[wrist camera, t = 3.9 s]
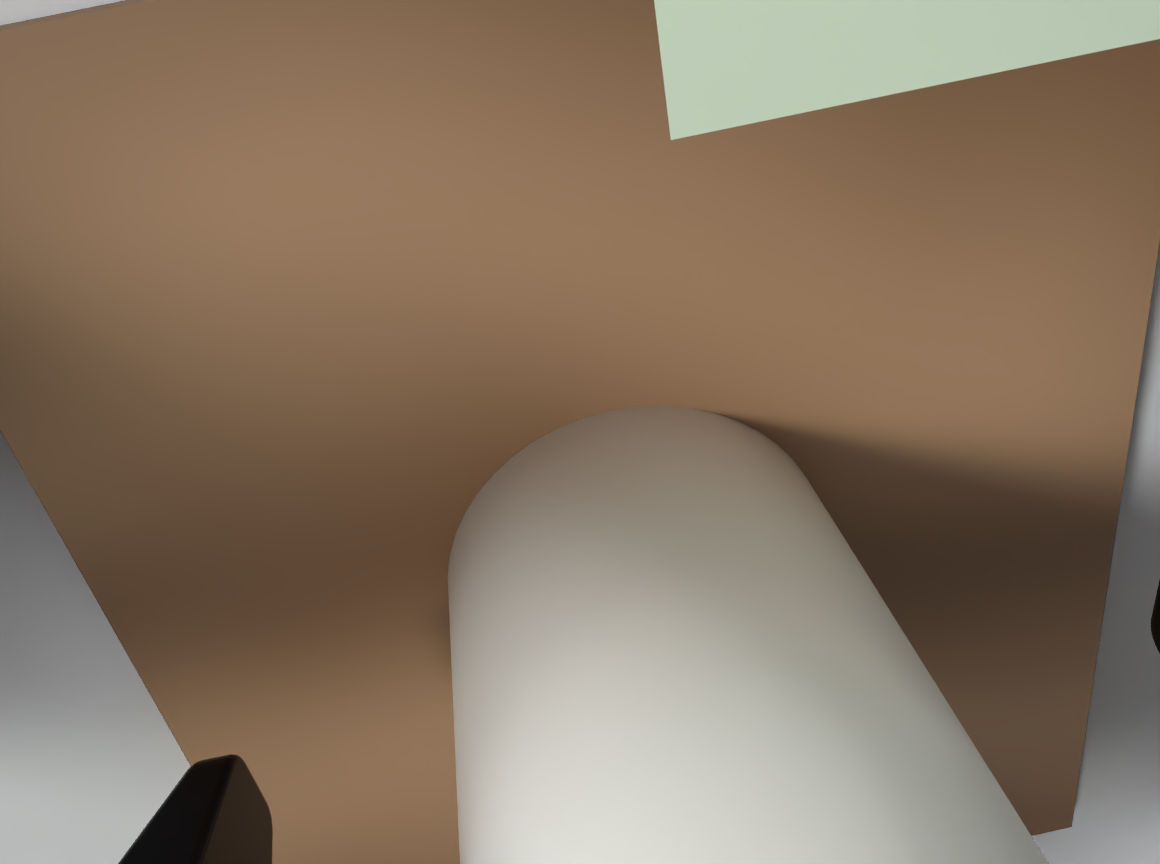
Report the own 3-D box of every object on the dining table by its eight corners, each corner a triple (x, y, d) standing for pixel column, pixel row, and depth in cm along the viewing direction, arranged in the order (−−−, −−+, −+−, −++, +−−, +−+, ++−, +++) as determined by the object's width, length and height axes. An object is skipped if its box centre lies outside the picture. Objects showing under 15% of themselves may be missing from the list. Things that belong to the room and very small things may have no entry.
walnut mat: (1058, 805, 16) (1071, 826, 16) (322, 969, 16) (320, 993, 16) (1198, -218, 9) (1229, -218, 8) (-178, 61, 9) (-203, 72, 8)
